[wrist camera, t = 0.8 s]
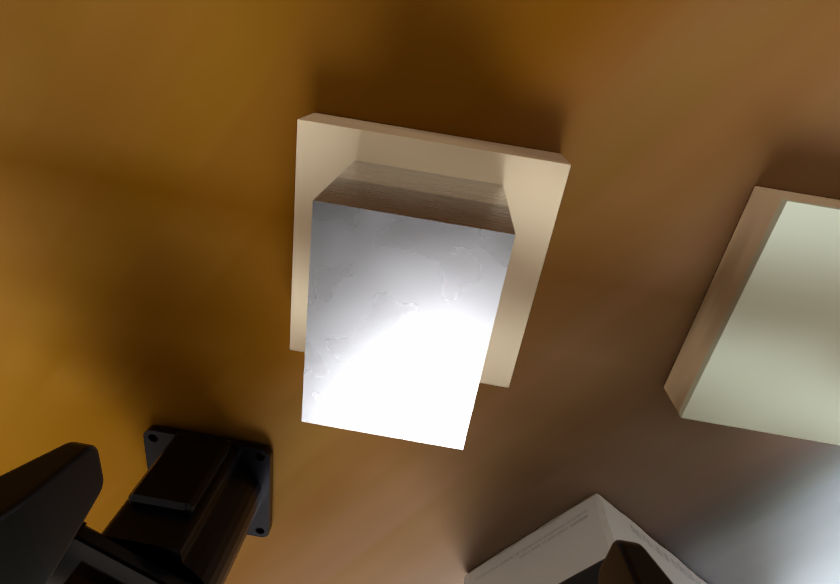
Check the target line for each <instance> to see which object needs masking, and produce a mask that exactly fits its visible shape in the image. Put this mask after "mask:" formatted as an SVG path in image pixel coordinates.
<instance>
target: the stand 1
mask: <svg viewBox="0 0 840 584" xmlns="http://www.w3.org/2000/svg"><path fill="white" fill-rule="evenodd" d="M355 160H357V161H363V162H369V163H375V164H381V165H387V166H393V167H399V168H404V169H410V170H416V171H422V172H428V173H434V174H440V175H446V176H452V177H458V178H464V179H470V180H476V181H482V182H488V183H494V184H500V185H503V187H504V191H505V195H506V199H507V203H508V207H509V211H510V214H511V218H512V222H513V226H514V230H515V234H516V235H515V239H514V243H513V248H512V252H511V256H510V260H509V264H508V268H507V272H506V276H505V280H504V284H503V288H502V292H501V296H500V300H499V304H498V309H497V313H496V317H495V321H494V325H493V329H492V333H491V337H490V341H489V345H488V349H487V353H486V357H485V361H484V365H483V369H482V374H481V378H480V382H479V383H485V384H490V385H496V386H502V387H508V388H509V385H510V381H511V377H512V374H513V370H514V367H515V363H516V360H517V356H518V352H519V349H520V345H521V342H522V338H523V335H524V331H525V327H526V324H527V320H528V317H529V313H530V310H531V306H532V302H533V299H534V295H535V292H536V288H537V285H538V281H539V277H540V274H541V270H542V267H543V263H544V260H545V256H546V252H547V249H548V245H549V242H550V238H551V235H552V231H553V228H554V224H555V220H556V217H557V213H558V210H559V206H560V203H561V199H562V195H563V192H564V188H565V185H566V181H567V178H568V174H569V170H570V167H571V164H570V163H569V162H568V161H567V160H566V159H565V158H564V157H563V155H562V154H560V153H554V152H548V151H542V150H536V149H530V148H524V147H518V146H512V145H506V144H500V143H494V142H488V141H482V140H476V139H470V138H464V137H458V136H452V135H446V134H440V133H434V132H428V131H422V130H416V129H410V128H404V127H398V126H392V125H386V124H380V123H374V122H368V121H362V120H356V119H350V118H344V117H338V116H332V115H326V114H320V113H312V114H310V115H307V116H305V117H302V118H300V119H297V148H296V178H295V207H294V237H293V267H292V296H291V326H290V350H295V351H301V352H305V344H306V324H307V305H308V285H309V265H310V245H311V225H312V206H313V200H314V199H315V198H316V197H317V196H318V195H319V194H320V193H321V192H322V191H323V190H324V189H325V188H326V187H327V186H328V185H330V184H331V183H332V182H333V181H334V180H335V179H336V178H337V177H338V176H339V175H340V174H341V173H342V172H343V171H344V170H345V169H346V168H347V167H349V166H350V165H351V164H352V163H353V162H354V161H355Z"/></svg>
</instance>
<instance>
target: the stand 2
mask: <svg viewBox="0 0 840 584" xmlns="http://www.w3.org/2000/svg"><path fill="white" fill-rule="evenodd" d="M664 389H665V391H666V393H667V394H668V396H669V398H670V399H671V401H672V403H673V405H674V406H675V408H676V410H677V412H678V413H679V415H680V417H681V418H685V419H691V420H697V421H702V422H708V423H714V424H720V425H725V426H731V427H737V428H743V429H748V430H754V431H760V432H765V433H771V434H777V435H783V436H788V437H794V438H800V439H806V440H811V441H817V442H823V443H828V444H834V445H840V200H837V199H831V198H825V197H819V196H813V195H807V194H801V193H795V192H789V191H783V190H777V189H771V188H765V187H759V186H755V187H754V189H753V191H752V194H751V196H750V198H749V200H748V202H747V205H746V207H745V209H744V211H743V214H742V216H741V218H740V220H739V222H738V225H737V227H736V229H735V231H734V233H733V236H732V238H731V240H730V242H729V244H728V247H727V249H726V251H725V253H724V255H723V258H722V260H721V262H720V264H719V266H718V269H717V271H716V273H715V275H714V277H713V280H712V282H711V284H710V286H709V288H708V291H707V293H706V295H705V297H704V299H703V302H702V304H701V306H700V308H699V310H698V313H697V315H696V317H695V319H694V322H693V324H692V326H691V328H690V330H689V333H688V335H687V337H686V339H685V341H684V344H683V346H682V348H681V350H680V352H679V355H678V357H677V359H676V361H675V363H674V366H673V368H672V370H671V372H670V374H669V377H668V379H667V381H666V383H665V385H664Z"/></svg>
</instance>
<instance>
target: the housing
mask: <svg viewBox="0 0 840 584" xmlns="http://www.w3.org/2000/svg"><path fill="white" fill-rule="evenodd" d="M515 235H516V234H515V230H514V226H513V222H512V218H511V214H510V211H509V207H508V203H507V199H506V195H505V191H504V187H503V185H500V184H494V183H488V182H482V181H476V180H470V179H464V178H458V177H452V176H446V175H440V174H434V173H428V172H422V171H416V170H410V169H404V168H399V167H393V166H387V165H381V164H375V163H369V162H363V161H357V160H355V161H354V162H353V163H352V164H351V165H350V166H349V167H347V168H346V169H345V170H344V171H343V172H342V173H341V174H340V175H339V176H338V177H337V178H336V179H335V180H334V181H333V182H332V183H331V184H330V185H328V186H327V187H326V188H325V189H324V190H323V191H322V192H321V193H320V194H319V195H318V196H317V197H316V198H315V199H314V200H313V206H312V225H311V245H310V265H309V285H308V305H307V324H306V344H305V364H304V384H303V404H302V422H308V423H314V424H319V425H325V426H331V427H336V428H342V429H348V430H353V431H359V432H365V433H370V434H376V435H382V436H387V437H393V438H399V439H404V440H410V441H416V442H421V443H427V444H433V445H438V446H444V447H449V448H455V449H461V450H463V447H464V443H465V439H466V435H467V430H468V426H469V422H470V418H471V414H472V410H473V406H474V402H475V398H476V394H477V390H478V386H479V382H480V378H481V374H482V369H483V365H484V361H485V357H486V353H487V349H488V345H489V341H490V337H491V333H492V329H493V325H494V321H495V317H496V313H497V309H498V304H499V300H500V296H501V292H502V288H503V284H504V280H505V276H506V272H507V268H508V264H509V260H510V256H511V252H512V248H513V243H514V239H515Z"/></svg>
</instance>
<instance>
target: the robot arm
mask: <svg viewBox="0 0 840 584" xmlns="http://www.w3.org/2000/svg"><path fill="white" fill-rule="evenodd" d="M155 435H156V436H155ZM143 437H144V445H145V452H146V459H147V467H148V471H147V472H146V474H145V475H144V476H143V478H142V479H141V480H140V482H139V483H138V484H137V485H136V487H135V488H134V489H133V491H132V492H131V493H130V495H129V498H128V499H127V501H126V502H125V503H124V505H123V506H122V507H121V509H120V510H119V511H118V512H117V514H116V515H115V516H114V518H113V519H112V520H111V522H110V523H109V524H108V526H107V527H106V528H105V529H104V531H103V532H102V533H101V534H100V533H99V532H97V531H95V530H93V529H91V528H89V527H88V526H86V524H87V523H86V522H84V519H85V518H86V516H87V514H88V513H89V511H90V509H91V507H92V506H93V504H94V502H95V501H96V499H97V497H98V495H99V494H100V491H101V489H102V485H103V474H102V469H101V464H100V458H99V453H98V450H97V448H96V447H95V446H93V445H89V444H83V443H78V442H70V443H67V444H64V445H62V446H60V447H58V448H56V449H54V450H52V451H50V452H48V453H46V454H44V455H42V456H40V457H38V458H36V459H34V460H32V461H30V462H28V463H26V464H24V465H22V466H20V467H18V468H15V469H13V470H11V471H9V472H7V473H5V474H3V475H1V476H0V584H224V583H225V580H226V578H227V576H228V574H229V572H230V570H231V567H232V565H233V563H234V561H235V559H236V557H237V554H238V552H239V550H240V548H241V546H242V544H243V541H244V539H245V537H246V535H252V536H258V537H265V536H267V535H268V534H269V532H270V529H271V526H272V471H273V452H272V449H271V448H270V447H269V446H267V445H264V444H260V443H254V442H248V441H243V440H237V439H232V438H226V437H220V436H215V435H209V434H203V433H198V432H192V431H187V430H181V429H175V428H170V427H164V426H158V425H152V426H150V427H149V428H148V429H147V430H146V432H145V433H144V436H143ZM261 454H263V455H261ZM599 584H673V582H672V581H671V580H670V579H669V577H668V576H667V575H666V574H665V573H664V571H663V570H662V569H661V568H660V566H659V565H658V564H657V563H656V561H655V560H654V559H653V558H652V557H651V555H650V554H649V553H648V552H647V550H646V549H645V548H644V547H643V546H642V545H640V544H639V543H636V542H630V541H625V540H616V541H614V542H613V543H612V545H611V547H610V549H609V551H608V553H607V555H606V558H605V560H604V562H603V564H602V566H601V568H600V571H599Z"/></svg>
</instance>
